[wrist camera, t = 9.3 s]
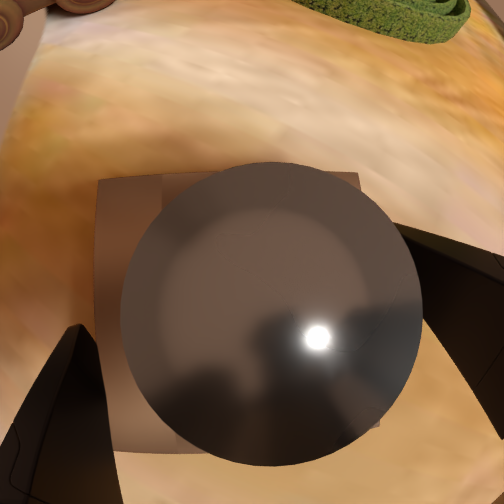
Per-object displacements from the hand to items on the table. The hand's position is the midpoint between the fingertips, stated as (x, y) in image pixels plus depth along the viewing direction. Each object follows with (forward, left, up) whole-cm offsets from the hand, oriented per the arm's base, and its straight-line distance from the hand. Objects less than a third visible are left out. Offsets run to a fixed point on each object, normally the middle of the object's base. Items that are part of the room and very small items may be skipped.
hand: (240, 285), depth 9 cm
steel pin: (-1, 0, -8) cm, 8 cm away
